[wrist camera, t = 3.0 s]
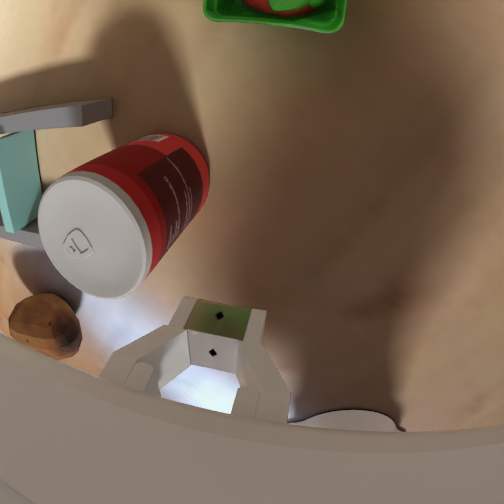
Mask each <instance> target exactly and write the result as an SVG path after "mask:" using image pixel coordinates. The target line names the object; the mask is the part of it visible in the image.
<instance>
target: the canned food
mask: <svg viewBox="0 0 504 504" xmlns="http://www.w3.org/2000/svg"><path fill="white" fill-rule="evenodd" d="M209 183H210V181H209V170H208V166H207V163H206V161H205V159H204V157H203V155H202V154H201V152H200V151H199V150H198V148H196V147H195V146H194V145H193V144H192V143H191V142H189V141H188V140H186V139H185V138H182V137H180V136H177V135H173V134H167V133H154V134H151V135H147V136H144V137H142V138H140V139H137V140H135V141H132V142H130V143H128V144H126V145H123V146H121V147H119V148H117V149H114V150H112V151H110V152H108V153H106V154H104V155H101V156H99V157H97V158H95V159H93V160H91V161H89V162H87V163H85V164H83V165H81V166H79V167H77V168H75V169H74V170H72V171H70V172H68V173H66V174H65V175H63V176H62V177H60V178H59V179H57V180H56V181H55V182H54V183H52V184H51V185H50V186H49V187H48V188H47V190H46V191H45V192H44V194H43V196H42V198H41V201H40V204H39V209H38V228H39V234H40V238H41V241H42V244H43V246H44V249H45V251H46V253H47V255H48V257H49V258H50V260H51V262H52V263H53V265H54V266H55V267H56V269H57V270H58V271H59V272H60V274H61V275H62V276H63V277H64V278H65V279H66V280H67V281H69V282H70V283H71V284H72V285H74V286H75V287H76V288H78V289H80V290H82V291H83V292H85V293H87V294H90V295H92V296H95V297H99V298H104V299H116V298H121V297H124V296H126V295H128V294H130V293H132V292H133V291H134V290H135V289H136V288H137V287H138V286H139V285H140V284H141V283H142V282H143V281H144V280H145V279H146V277H147V276H148V275H149V273H150V272H151V271H152V270H153V269H154V268H155V266H156V265H157V264H158V262H159V261H160V260H161V258H162V257H163V256H164V255H165V253H166V252H167V251H168V249H169V248H170V247H171V246H172V244H173V243H174V242H175V241H176V239H177V238H178V237H179V235H180V234H181V233H182V232H183V230H184V229H185V228H186V227H187V225H188V224H189V223H190V222H191V221H192V219H193V218H194V217H195V216H196V214H197V213H198V212H199V211H200V209H201V208H202V206H203V205H204V203H205V201H206V198H207V196H208V190H209Z"/></svg>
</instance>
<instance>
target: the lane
mask: <svg viewBox="0 0 504 504" xmlns="http://www.w3.org/2000/svg"><path fill="white" fill-rule="evenodd" d="M110 117H112V98H109V99H97V100H87V101H77V102H69V103H61V104H54V105H47V106H40V107H34V108H29V109H23V110H18V111H13V112H8V113H3V114H0V134H5V133H13V132H21V131H30V130H40V129H51V128H64V127H81V126H85V125H88V124H91V123H94V122H97V121H101V120H104V119H107V118H110ZM0 238H4V239H7V240H11V241H15V242H19V243H23V244H27V245H31V246H35V247H39V248H43V249H44V246H43V244H42V241H41V238H40V234H39V228H38V217H37V218H35V219H34V220H33V221H31V222H30V223H28V224H27V225H26V226H24V227H23V228H21V229H20V230H19V231H17V232H16V233H10V232H6V230H5V226H4V222H3V218H2V215H1V210H0Z"/></svg>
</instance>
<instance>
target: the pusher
mask: <svg viewBox="0 0 504 504" xmlns="http://www.w3.org/2000/svg"><path fill="white" fill-rule="evenodd" d="M42 196H43V195H42V190H41V184H40V177H39V171H38V164H37V156H36V148H35V139H34V130H30V131H21V132H13V133H11V134H8V135H6V136H3V137H0V210H1V215H2V218H3V222H4V226H5V230H6V232H10V233H16V232H17V231H19V230H20V229H21V228H23V227H24V226H26V225H27V224H28V223H30V222H31V221H33V220H34V219H35V218H37V217H38V209H39V204H40V201H41V198H42Z"/></svg>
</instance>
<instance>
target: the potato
mask: <svg viewBox="0 0 504 504" xmlns="http://www.w3.org/2000/svg"><path fill="white" fill-rule="evenodd" d="M9 330H10V334H11V336H12V337H13V338H14V339H15V340H16V341H17V342H19V343H21V344H23V345H25V346H27V347H29V348H31V349H33V350H36V351H38V352H40V353H42V354H44V355H46V356H49V357H51V358H53V359H55V360H62V359H66V358H69V357H72V356H73V355H75V354H76V353H77V352H78V351H79V347H80V344H81V341H82V332H81V327H80V323H79V320H78V318H77V317H76V315H75V314H74V312H73V310H72V309H71V308H70V306H69V305H68V303H67V302H65V301H64V300H63V299H61V298H60V297H58V296H57V295H55V294H53V293H41V294H36V295H33V296H30V297H28V298H25V299H24V300H22V301H20V302H19V303H17V304H16V306H15V308H14V309H13V311H12V313H11V315H10V317H9Z"/></svg>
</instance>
